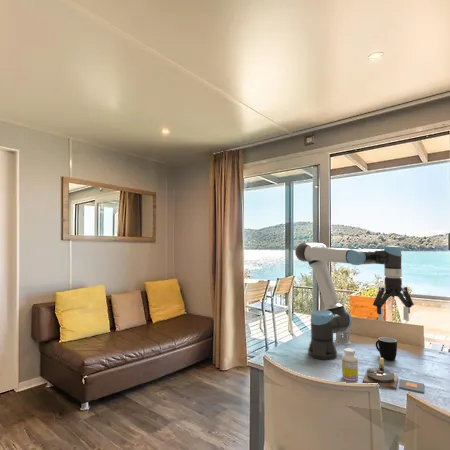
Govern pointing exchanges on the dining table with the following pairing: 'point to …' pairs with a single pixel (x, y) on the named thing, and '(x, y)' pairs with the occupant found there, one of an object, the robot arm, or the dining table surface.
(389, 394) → the dining table surface
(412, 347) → the dining table surface
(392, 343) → the mug
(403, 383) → the pad
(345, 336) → the french press
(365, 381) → the base
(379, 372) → the dark disc with post
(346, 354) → the supplement bottle
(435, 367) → the dining table surface
